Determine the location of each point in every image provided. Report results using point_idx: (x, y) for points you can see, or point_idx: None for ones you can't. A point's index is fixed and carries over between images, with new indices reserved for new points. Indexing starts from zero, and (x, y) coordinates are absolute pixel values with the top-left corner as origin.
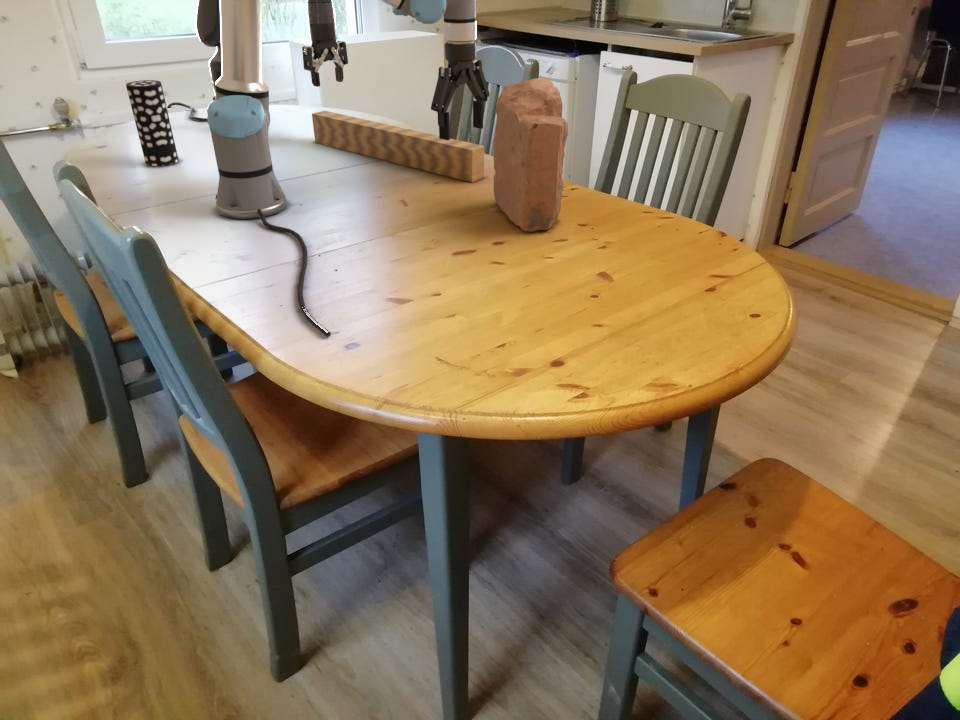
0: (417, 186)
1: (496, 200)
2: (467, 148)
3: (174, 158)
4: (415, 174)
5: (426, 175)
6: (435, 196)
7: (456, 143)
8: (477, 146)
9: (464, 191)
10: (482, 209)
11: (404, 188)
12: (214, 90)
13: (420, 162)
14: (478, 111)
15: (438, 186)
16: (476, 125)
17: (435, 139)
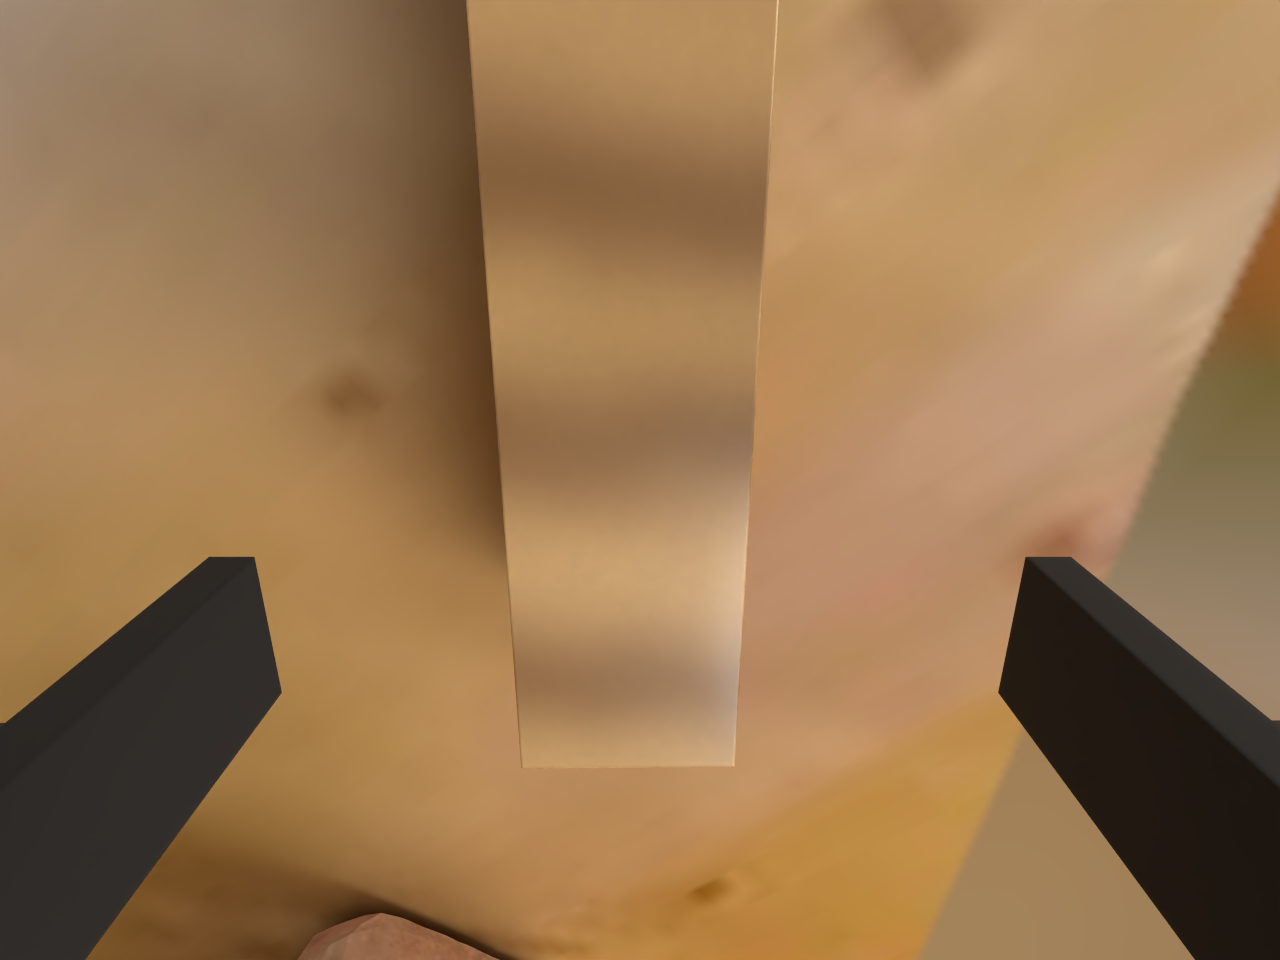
0: (170, 328)
1: (299, 958)
2: (538, 700)
3: None
4: (375, 66)
5: (431, 181)
6: (142, 578)
7: (615, 495)
8: (671, 730)
9: (373, 658)
10: (229, 891)
11: (46, 275)
12: None
13: None
14: (1168, 839)
15: (306, 459)
16: (1032, 632)
17: (576, 136)
